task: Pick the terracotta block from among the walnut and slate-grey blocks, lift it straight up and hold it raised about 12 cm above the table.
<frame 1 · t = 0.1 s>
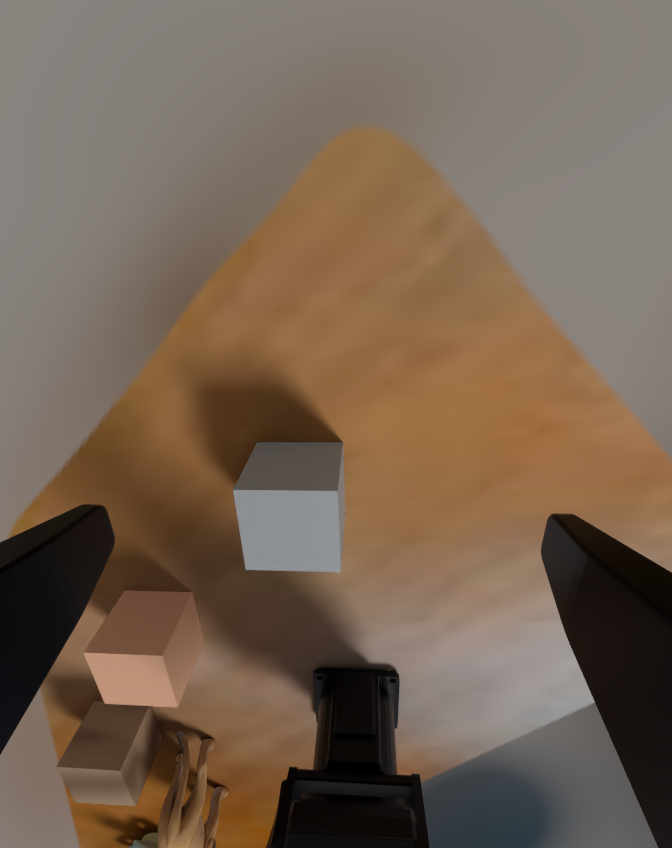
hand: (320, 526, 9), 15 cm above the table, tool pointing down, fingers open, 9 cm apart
lion figurine: (211, 771, 40), on the table
walnut block: (129, 719, 37), on the table
pacifier: (161, 838, 47), on the table
slate grey block: (302, 478, 26), on the table
terracotta block: (165, 615, 32), on the table
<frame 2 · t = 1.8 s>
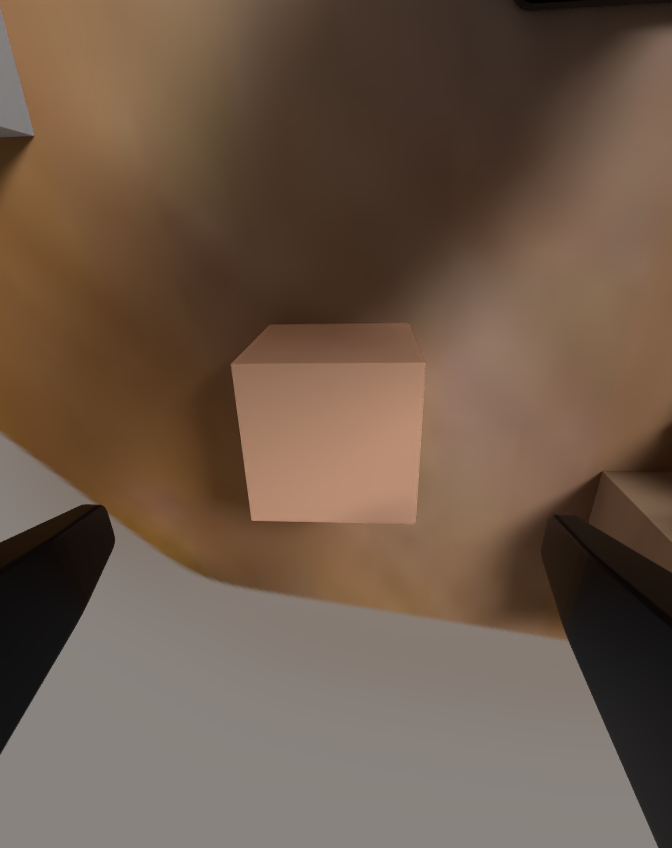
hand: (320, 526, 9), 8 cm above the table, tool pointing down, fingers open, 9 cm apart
walnut block: (648, 521, 18), on the table
terracotta block: (340, 388, 16), on the table
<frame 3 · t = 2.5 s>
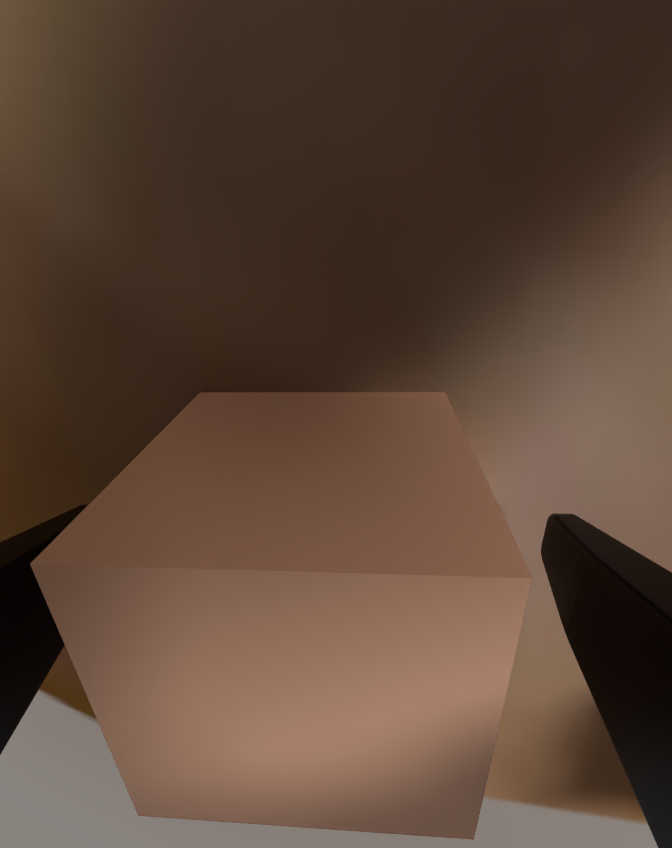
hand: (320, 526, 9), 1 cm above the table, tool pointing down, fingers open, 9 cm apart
terracotta block: (325, 493, 10), on the table
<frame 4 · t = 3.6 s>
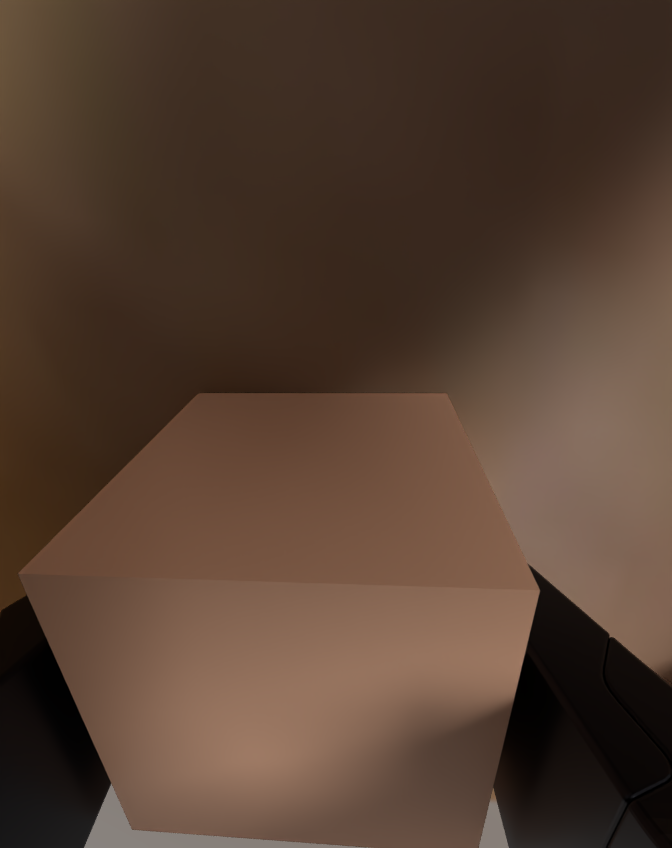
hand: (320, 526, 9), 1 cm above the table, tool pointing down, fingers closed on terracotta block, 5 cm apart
terracotta block: (324, 497, 10), on the table, touching gripper
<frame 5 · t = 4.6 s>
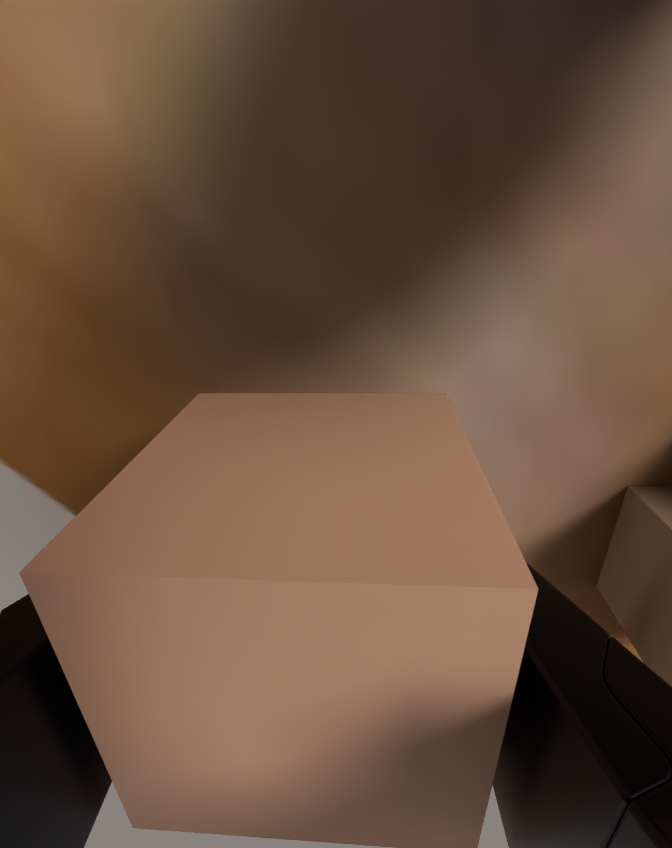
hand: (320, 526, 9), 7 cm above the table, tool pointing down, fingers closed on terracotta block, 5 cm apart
terracotta block: (324, 496, 10), point 6 cm above the table, touching gripper
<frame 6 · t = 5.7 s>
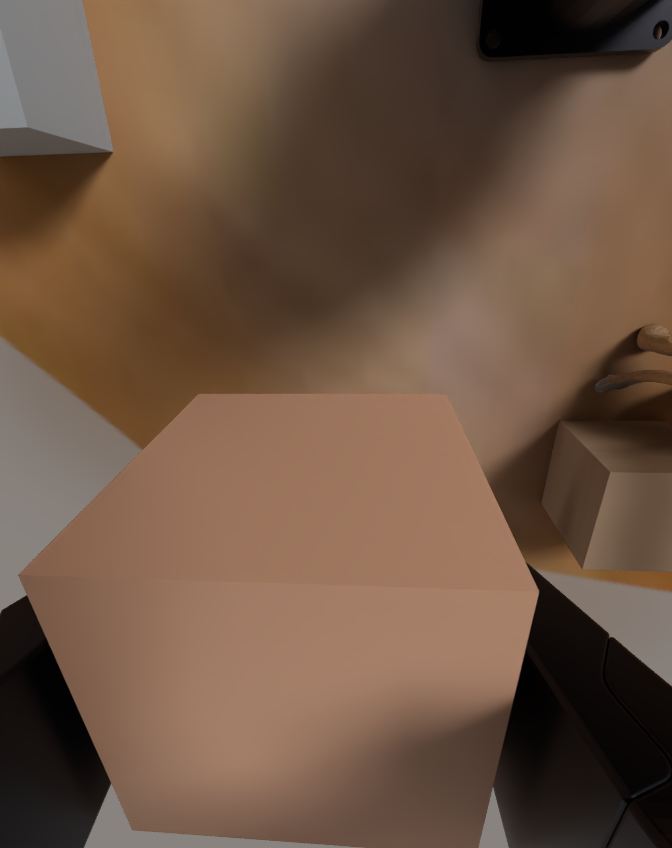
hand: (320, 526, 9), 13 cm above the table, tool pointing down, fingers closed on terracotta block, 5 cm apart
walnut block: (598, 463, 22), on the table
slate grey block: (37, 79, 17), on the table
terracotta block: (324, 497, 10), point 12 cm above the table, touching gripper
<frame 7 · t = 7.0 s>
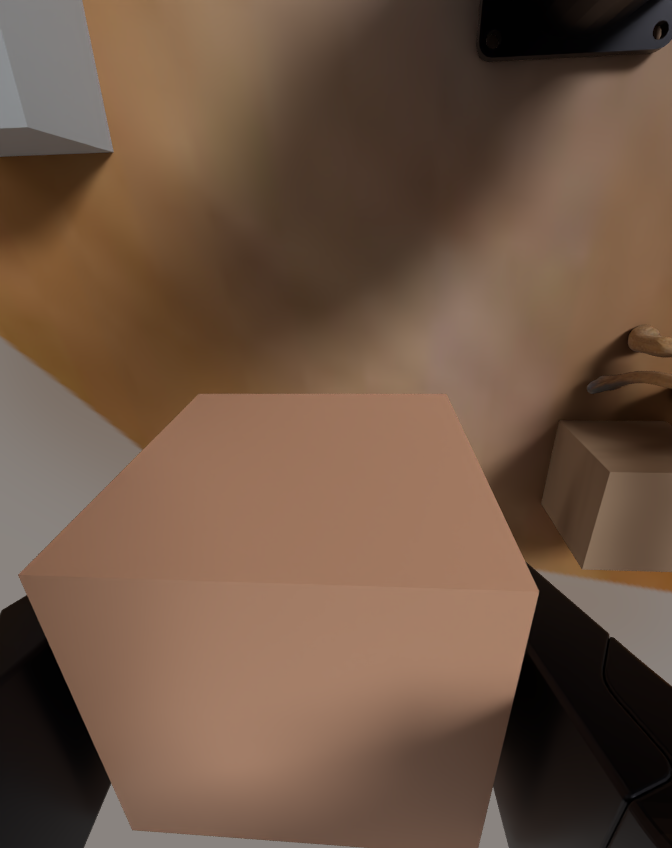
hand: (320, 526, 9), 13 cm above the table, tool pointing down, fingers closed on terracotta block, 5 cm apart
walnut block: (598, 463, 22), on the table
slate grey block: (37, 80, 17), on the table
terracotta block: (324, 497, 10), point 12 cm above the table, touching gripper
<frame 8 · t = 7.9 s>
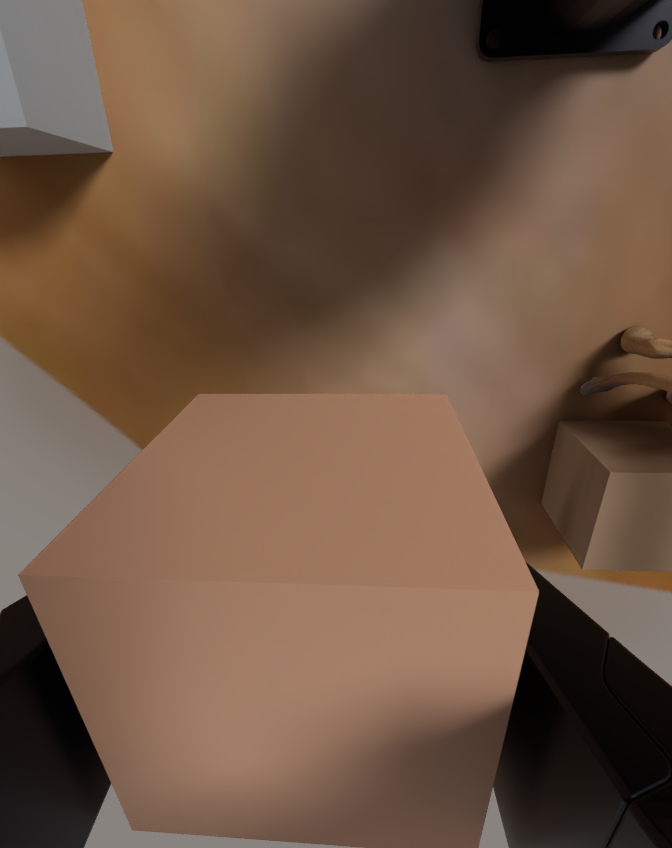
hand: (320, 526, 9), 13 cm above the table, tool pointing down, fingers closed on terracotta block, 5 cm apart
walnut block: (598, 463, 22), on the table
slate grey block: (37, 80, 17), on the table
terracotta block: (324, 497, 10), point 12 cm above the table, touching gripper
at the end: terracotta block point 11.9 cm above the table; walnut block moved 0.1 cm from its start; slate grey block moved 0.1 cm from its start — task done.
